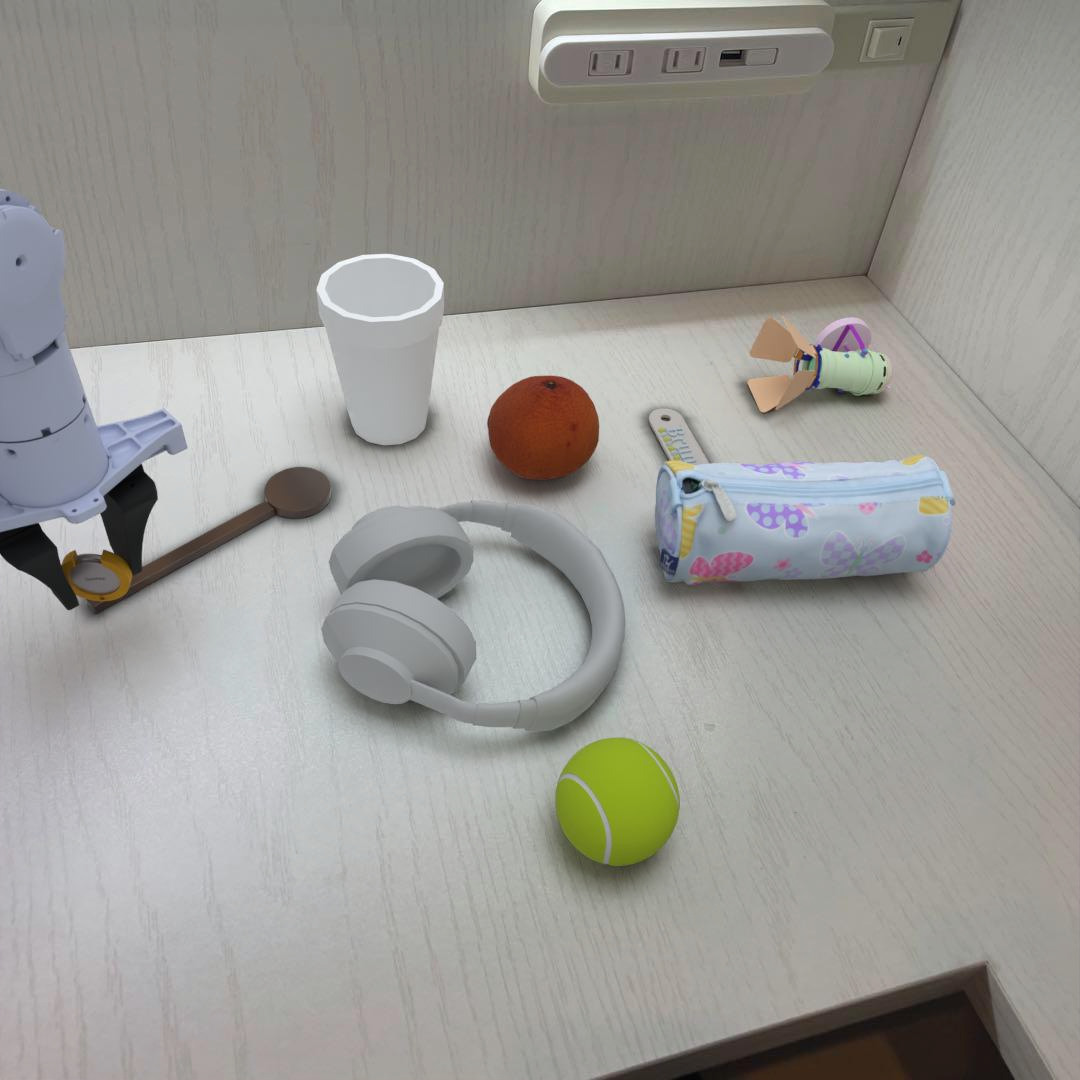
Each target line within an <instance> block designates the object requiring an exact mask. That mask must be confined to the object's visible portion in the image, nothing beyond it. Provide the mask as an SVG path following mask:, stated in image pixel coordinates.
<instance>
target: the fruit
mask: <svg viewBox="0 0 1080 1080" xmlns="http://www.w3.org/2000/svg"><path fill="white" fill-rule="evenodd" d="M486 425H487V431H488V433H487V434H488V440H489V446H490V449H491V451H492V453H493V454H494V456H495V458H496V460H497V461H498V462H499V463H500V464H501V465H503V467H505V468H506V469H508V470H509V471H510V472H511V473H513V474H514V475H516V476H518V477H521V478H523V479H529V480H538V481H540V480H541V481H543V480H544V481H546V480H552V479H553V480H554V479H559V478H565V477H567V476H569V475H572V474H573V473H575V472H577V471H578V470H579V469H581V468H582V467H583V466H584V465H585V464H587V463H588V462H589V461H590V459H591V458H592V456H593V455H594V453H595V451H596V449H597V447H598V445H599V444H598V443H599V442H600V441H599V440H600V420H599V414H598V411H597V409H596V406H595V403H594V401H593V399H592V398H591V397H590V395H589V394H588V392H587V391H586V390H585V389H584V388H583V387H582V386H581V385H579V384H578V383H577V382H575V381H574V380H572V379H569V378H567V377H563V376H559V375H533V376H529V377H525V378H522V379H521V380H519V381H516V382H515V383H513V384H511V386H509V387H508V388H506V389H505V390H504V391H503V392H502V393H501V394H500V395H499V396H498V397H497V398H496V400H495V401H494V403H493V405H491V408H490V410H489V415H488V417H487V421H486Z"/></svg>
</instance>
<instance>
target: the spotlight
mask: <svg viewBox="0 0 1080 1080" xmlns="http://www.w3.org/2000/svg"><path fill="white" fill-rule="evenodd" d="M781 318H782V320H783V322H784V324H785V326H786V328H785V327H784V326H783V325H782V324H781V323H779V321H777V320H776V319H775V318H774V317H770V316H769V317H767V318H766V319H765V321H764V322H763V325H762V326H761V328H760V330H759V332H758V334H757V336H756V338H755V340H754V342H753V344H752V346H751V348H750V350H749V352H748V353H749V356H750V357H752V358H756V359H761V360H767V361H774V362H779V363H789V362H791V361H792V359H793V358H794V360H793V361H794V362H793V375H792V379H791V376H789V375H788V374H779V375H772V376H763V377H755V378H750V379H748V380H747V386H748V388H749V390H750V392H751V394H752V396H753V399H754V401H755V404H756V405H757V408H758V410H759V412H761V413H767V412H769V411H771V410H772V409H775V411H779V410H780V409H781V408H782V407H785V406H786V405H787V404H789V403H791V402H792V401H793V400H794V399H796V398H798V397H799V396H800V395H802V394H803V393H804V392H805V391H809V390H811V389H812V388H814V389H817V390H823V389H826V388H830V389H837V390H838V391H837V392H838V393H841V394H842V393H843V394H844V393H845V392H850V393H851V394H852V395H853V396H855V397H856V396H857V397H858V396H862V395H877V394H880V393H882V392H884V391H885V390H887V389H888V390H891V389H892V387H890V384H891V381H892V379H893V376H894V375H893V374H894V368H893V364H892V361H891V360H890V358H889V357H888V356H887V355H886V354H885V353H882V352H879V351H873V350H869V349H868V348H869V347H870V345H871V342H872V331H871V330H870V328H869V326H868V325H867V323H866V322H865V321H864V320H863V319H861V318H858V317H854V316H853V317H851V316H850V317H844V318H840V319H838V320H835V321H833V322H831V323H830V324H828V325H827V326H826V327H824V328H823V329H822V330H821V331H820V333H819V334H818V336H817V337H816V339H815V342H814V344H810V342H808V340H807V339H806V338H805V337H804V336H803V334H802V333H800V331H799V330H798V329H797V328H796V327H795V326H794V325H793V324H792V323H791V322H790V321H789V320H788V319H787V317H785V316H784V315H781ZM805 353H806V354H805ZM801 361H803V362H802V365H801V370H800V369H799V367H800V363H801Z"/></svg>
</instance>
